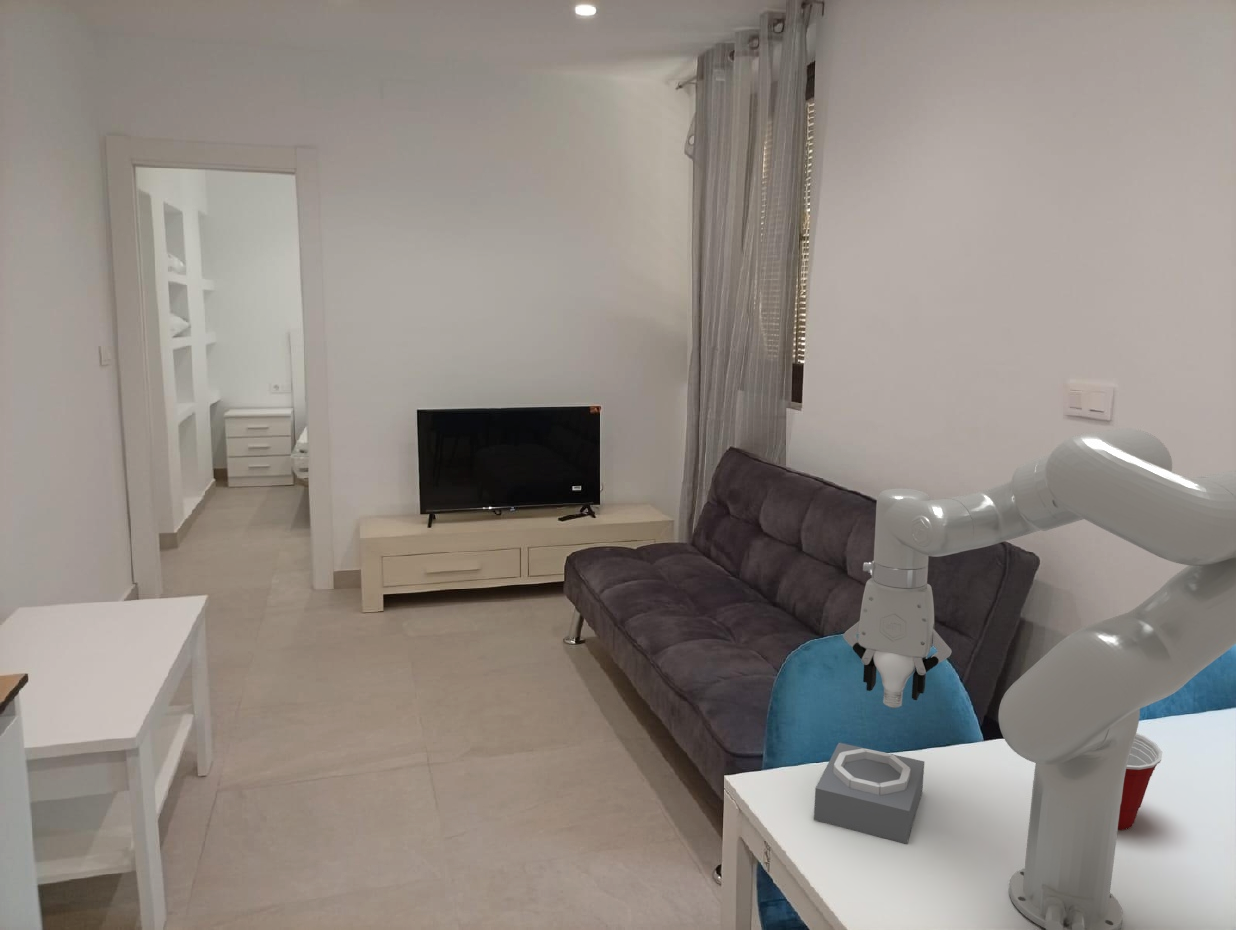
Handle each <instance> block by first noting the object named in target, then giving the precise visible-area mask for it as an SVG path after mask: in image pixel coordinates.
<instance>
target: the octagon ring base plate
mask: <svg viewBox="0 0 1236 930" xmlns="http://www.w3.org/2000/svg"><path fill="white" fill-rule="evenodd" d="M924 771H925V760H920V759H915V758H910V757H906V756H902V755H897V754H892V753H888V752H884V751H878V750H875V749H874V750H873V749H870V748H865V747H861V746H855V745H851V744H848V743H842V742H838V744H837V745H836V747H835V749H834V751H833V753H832V755H831V757H830V759H829V761H828V763H827V765H826V766H825V769H824V771H823V772H822V775H821V777H820V779H819V780H818V782H817V784H816V787H814V788H815V789H814V791H815V793H814V812H813V820H814V821H817V822H821V823H825V824H829V825H832V826H837V827H839V828H844V829H848V830H851V831H856V832H860V833H863V834H867V835H872V836H875V837H879V838H882V839H886V840H890V841H894V842H898V843H902V844H906V845H908V841H909V839H910V834H911V831H912V828H913V825H914V822H915V818H916V814H917V810H918V807H919V805H920V801H921V798H920V797H922V793H923V786H924V785H923V784H924V774H925V772H924ZM913 821H914V822H913Z"/></svg>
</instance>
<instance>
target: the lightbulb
mask: <svg viewBox="0 0 1236 930" xmlns="http://www.w3.org/2000/svg"><path fill="white" fill-rule="evenodd" d="M873 661H874V664H875V666H876V668H877V671H878V673H879V675H880V679H881V682H882V686H883V700H882V702H883V704H884V705H885V706H886V707H888V708H890V709H896V708H899V707H901V706H902V705H903V694H904V689H905V687H906V685H907V681H908V679H909V678H910V677H912V676H913V674H914V672H915V670H916V667H915V664H914V659H913V657H907V656H902V655H899V654H895V653H889V652H879V651H875V652H874V655H873Z"/></svg>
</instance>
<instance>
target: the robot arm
mask: <svg viewBox="0 0 1236 930" xmlns="http://www.w3.org/2000/svg"><path fill="white" fill-rule="evenodd" d="M1082 520H1083V521H1084V520H1085V521H1087V522H1089V523H1091V524H1093V525H1095V526H1096V527H1098V528H1100V529H1103V530H1104V531H1107V532H1109V533H1111V534H1113V535H1115V536H1116V537H1119V538H1120V539H1123V540H1124V541H1126V542H1128V543H1131V544H1133V545H1135V546H1136V547H1138V548H1140V549H1142V550H1144V551H1146V552H1147V553H1150V554H1152V555H1155V556H1156V557H1159V558H1160V559H1161V558H1162V559H1164V560H1166V561H1169V562H1172V563H1176V564H1180V565H1184V566H1185V567H1183V569H1181V570H1180V571H1179V572H1177V573H1176V574H1175V575H1174V576H1172V577H1171V578H1170V579H1168V580H1167V581H1166V582H1165V583H1164V584H1163V585H1162V586H1161V587H1160V588H1159V589H1158V590H1157V591H1155V592H1154V593H1153V594H1152V595H1150V597H1148V598H1147V599H1145V600H1144V601H1143V602H1142V603H1140V604H1139V605H1138V606H1136V607H1135V608H1133V609H1131V610H1130V611H1128V612H1125V613H1123V614H1119V615H1117V616H1115V617H1111V618H1108V619H1105V620H1100V621H1098V622H1096V623H1092V624H1089V625H1087V626H1084V627H1082V628H1079V629H1078V630H1076V631H1074V632H1072V633H1071V634H1069V635H1068V636H1065V638H1064V639H1062V640H1061V641H1059V642H1057V644H1056V645H1055V646H1054V647H1052V648H1051V649H1050V650H1049V651H1048V652H1046V654H1045V655H1043V657H1041V658H1040V659H1039V660H1038V661H1037V662H1036V663H1035V664H1033V666H1031V667H1030V668H1028V670H1027V671H1026V672H1024V673H1023V674H1022V675H1021V676H1020V677H1019V678H1018V679H1016V680H1015V681H1014V682H1013V683H1012V685H1010V687H1009V688H1008V689H1007V690H1006V691H1005V693H1004V694H1003V697H1002V698H1001V701H1000V704H999V707H998V708H999V709H998V726H999V729H1000V733H1001V735H1002V737H1003V739H1004V741H1005V742H1006V743H1007V746H1009V747H1010V749H1012V751H1013V752H1014V753H1016V755H1018V756H1020V757H1022V758H1023V759H1025V760H1027V761H1029V762H1031V763H1034V764H1035V765H1034V772H1033V780H1032V790H1031V799H1030V809H1029V810H1030V811H1029V822H1028V829H1027V842H1026V849H1025V850H1026V851H1025V861H1024V868H1022V869H1019V870H1017V871H1016V872H1015V873H1014V874H1013V875H1012V876H1011V878H1010V880H1009V887H1008V892H1009V893H1008V895H1009V897H1010V900H1011V902H1012V903H1013V905H1014V906H1015V907H1016V909H1017V910H1018V911H1019V912H1020V913H1021V914H1022V915H1024V917H1026V918H1028V919H1029V920H1030V921H1032V922H1033V923H1034V924H1036V925H1038V926H1039V927H1041V928H1043V929H1045V930H1120V929H1121V927H1122V924H1123V911H1122V910H1123V909H1122V907H1121V905H1120V903H1119V901H1118V900H1117V899H1116V897H1115V896H1114V895H1113V894H1112V893H1111V889H1112V888H1111V887H1112V880H1113V879H1112V878H1113V872H1114V860H1115V855H1116V854H1115V853H1116V844H1117V838H1118V837H1117V836H1118V821H1119V813H1120V805H1121V800H1122V792H1123V784H1124V777H1125V772H1126V767H1127V762H1128V758H1129V755H1130V751H1131V748H1132V745H1133V742H1134V739H1135V736H1136V733H1137V731H1138V728H1139V723H1140V716H1141V715H1140V714H1141V710H1140V709H1142V708H1145V707H1147V706H1149V705H1150V706H1151V705H1152V704H1154V703H1158V702H1159V701H1162V700H1164V699H1165V698H1168V697H1170V696H1171V695H1174V694H1175V693H1176V692H1178V691H1179V690H1180V689H1181V688H1183V687H1184V686H1185V685H1186V684H1187V683H1188V682H1190V680H1192V679H1193V678H1194V677H1195V676H1197V675H1198V674H1199V673H1200V672H1201V671H1202V670H1204V669H1205V668H1206V667H1208V666H1209V665H1211V664H1212V663H1214V661H1216V660H1217V659H1218V658H1219V657H1221V656H1222V655H1224V654H1225V653H1227V652H1228V651H1229V650H1230V649H1231V648H1233V647H1234V646H1235V645H1236V470H1230V471H1223V472H1219V473H1213V474H1212V473H1211V474H1208V475H1203V476H1202V475H1201V476H1197V477H1193V478H1189V477H1186V476H1184V475H1181V474H1178V473H1175V472H1174V471H1173V460H1172V456H1171V453H1170V452H1169V449H1168V448H1167V447H1166V445H1165V444H1164V443H1163V442H1162V441H1161V440H1160V439H1159V438H1157V437H1156V436H1155V435H1153V434H1151V433H1149V432H1147V431H1144V430H1141V429H1136V428H1135V429H1134V428H1117V429H1109V430H1102V431H1094V432H1093V431H1092V432H1086V433H1081V434H1077V435H1075V436H1072V437H1069V438H1068V439H1065V440H1064V441H1063V442H1061V443H1060V444H1058V445H1057V447H1056V448H1054V449H1053V450H1052V451H1051V453H1050V454H1047V455H1044V456H1041V457H1039V458H1036V459H1034V460H1031V461H1028V462H1025V463H1023V464H1021V465H1020V466H1018V467H1017V468H1016V469H1015V471H1014V472H1013V474H1012V477H1011V480H1010V481H1007V482H1005V483H1001V484H999V485H996V486H993V487H990V488H987V489H984V490H981V491H979V492H975V493H970V494H965V495H963V494H962V495H957V496H950V497H946V498H939V499H931V496H929V494H928V493H927V492H925V491H922V490H918V489H912V488H905V487H904V488H902V487H901V488H900V487H898V488H888V489H884V490H883V491H880V493H879V494H878V496H877V499H876V508H875V528H874V529H875V530H874V546H873V560H872V561H868V562H866V561H864V562H863V565H862V571H863V572H867V573H868V574H869V573H870V575H871V577H870V578H869V579H868V580H867V581H866V583H865V586H864V592H863V595H862V601H861V608H860V614H859V615H860V617H859V620H858V621H857V622H856V623H854V625H852V626H851V627H850V628H848V629H847V630H846V631H845V632H844V633H843V635H842V637H843V639H844V640H845V642H846V643H847V644H848V645H849V646H850V647H851V648H852V650H853V652H854V653H855V654H856V655H857V656H858V657H859V659H860V661H861V663H862V664H863V678H862V679H863V680H862V682H863V683H866V688H865V690H866V692H867V691H868V692H871V691H873V689H874V688H875V686H876V683H877V671H878V670H877V668H876V666H875V664H874V661H873V655H874V652H875V651H879V652H889V653H895V654H899V655H902V656H907V657H913V659H914V664H915V667H916V669H915V671H914V672H913V673H912V687H911V688H912V689H911V699H912V701H913V700H914V701H917V700H918V699H919V696H920V695H921V694H923V695H924V693H925V689H926V679H927V678H926V675H927V674H926V673H927V672H929V671H930V670H932V669H933V668H935V667H936V666H937V665H938V664H940V663H942V662H944V661H945V660H946V659H948V658H950V656H951V655H952V649H951V647H949V645H948V644H947V643H946V641H945V640H944V639H943V638H942V637H941V636H940V635H939V633H938V632H937V631H936V630H935V607H934V596H933V590H932V589H933V588H932V586H931V585H930V584H929V583H928V572H929V557H935V558H936V557H938V558H939V557H944V556H949V555H953V554H959V553H961V552H966V551H971V550H976V549H981V548H982V549H983V548H985V547H989V546H990V547H991V546H993V545H997V544H1000V543H1003V542H1006V541H1010V540H1013V539H1016V538H1020V537H1023V536H1027V535H1030V534H1034V533H1037V532H1041V531H1042V532H1046V531H1050V530H1053V529H1056V528H1059V527H1062V526H1067V525H1069V524H1072V523H1076V522H1078V521H1082ZM857 635H858V636H857ZM933 646H934V648H935V649H936V650H937V651H936V652H935V653H934V654H931V655H930V656H929V654H930V652H931V649H932V647H933ZM927 656H929V657H927Z"/></svg>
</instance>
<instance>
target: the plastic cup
mask: <svg viewBox="0 0 1236 930" xmlns="http://www.w3.org/2000/svg"><path fill="white" fill-rule="evenodd" d="M1162 758H1163V751H1162V749H1161V748H1160V746H1159V745H1158V744H1157V743H1155V742H1154V741H1153V740H1151V739H1150V738H1148V737H1147V736H1145V735H1142V734H1140V733H1137V732H1136V736H1135V739H1134V742H1133V745H1132V748H1131V751H1130V755H1129V758H1128V762H1127V767H1126V772H1125V777H1124V784H1123V792H1122V800H1121V805H1120V813H1119V821H1118V830H1119V831H1124V830H1129V829H1131V828H1132V827H1133V825H1134V824H1135V822H1136V818H1137V816H1138V812H1139V810H1140V808H1141V807H1142V803H1143V800H1144V798H1145V794H1146V793H1147V792H1146V791H1147V789H1148V785H1149V782H1150V779H1151V777H1152V776H1153V773H1154V771H1155V769H1156V767H1157V765H1159V764H1160V763H1161V761H1162ZM1118 830H1117V831H1118Z"/></svg>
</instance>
